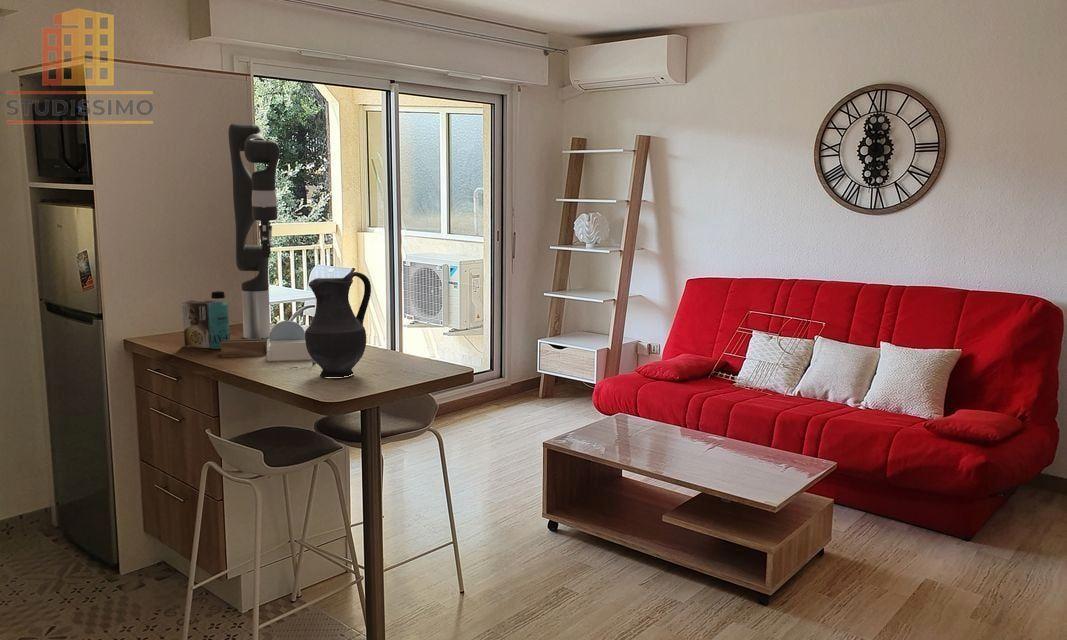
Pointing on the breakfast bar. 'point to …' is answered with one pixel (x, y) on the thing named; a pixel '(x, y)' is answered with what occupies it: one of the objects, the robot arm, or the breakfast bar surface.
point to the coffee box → (196, 323)
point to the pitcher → (337, 326)
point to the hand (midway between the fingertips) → (266, 255)
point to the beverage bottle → (218, 321)
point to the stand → (244, 347)
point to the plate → (287, 331)
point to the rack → (288, 350)
